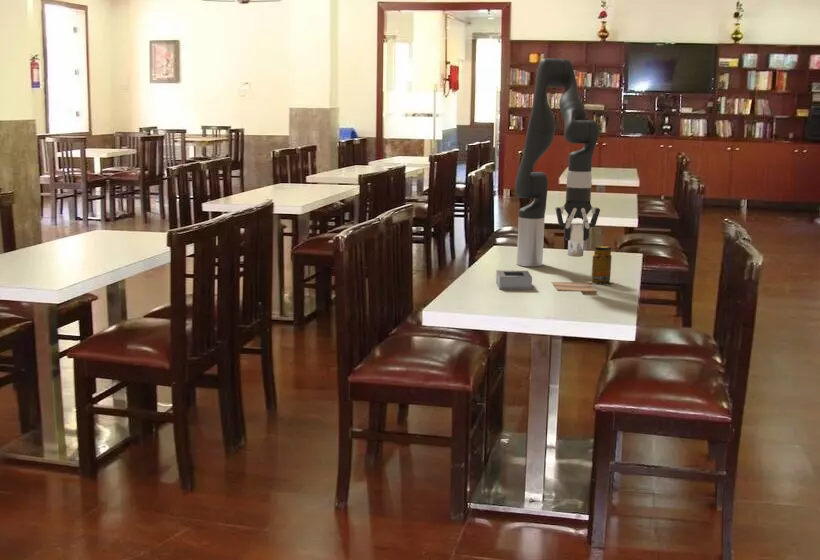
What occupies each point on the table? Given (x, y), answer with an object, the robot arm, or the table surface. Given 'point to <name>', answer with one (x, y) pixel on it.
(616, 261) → the table surface
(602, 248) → the condiment
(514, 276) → the housing
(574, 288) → the board
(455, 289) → the table surface
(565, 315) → the table surface
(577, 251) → the plug
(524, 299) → the table surface
